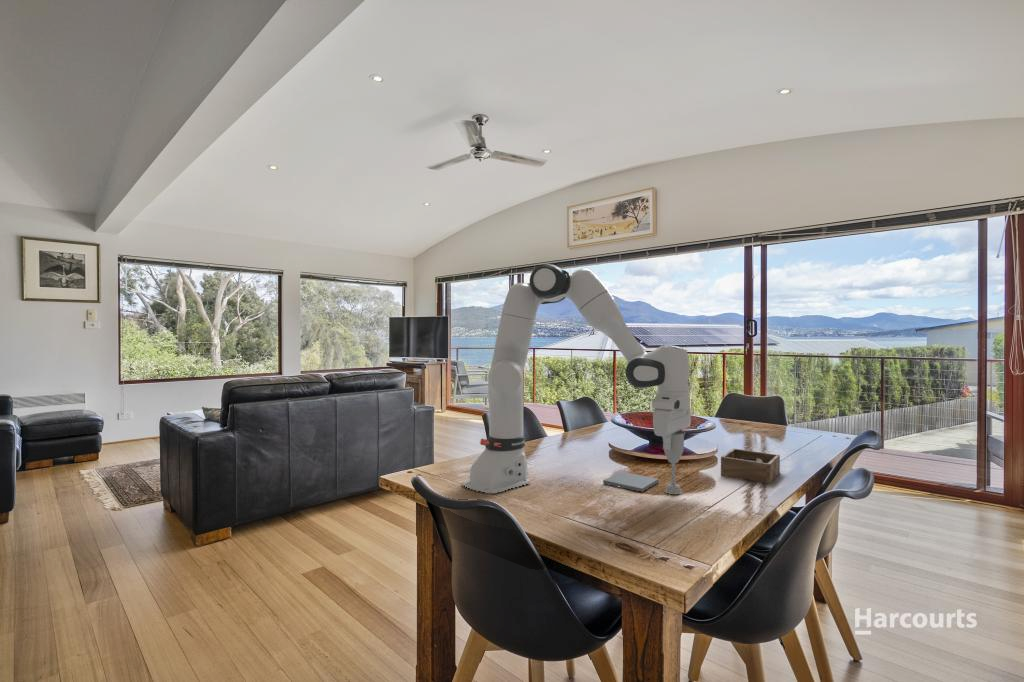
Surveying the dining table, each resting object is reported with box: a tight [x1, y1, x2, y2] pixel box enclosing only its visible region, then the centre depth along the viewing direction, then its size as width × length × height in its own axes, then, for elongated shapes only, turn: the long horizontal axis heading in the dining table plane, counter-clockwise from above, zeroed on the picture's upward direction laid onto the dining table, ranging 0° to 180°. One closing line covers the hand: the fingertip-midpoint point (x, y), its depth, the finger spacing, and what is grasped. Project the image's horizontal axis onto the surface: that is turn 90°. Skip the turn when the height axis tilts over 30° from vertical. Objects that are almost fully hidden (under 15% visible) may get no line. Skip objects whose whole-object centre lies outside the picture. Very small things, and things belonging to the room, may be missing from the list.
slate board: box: [602, 470, 660, 493], centre depth 152 cm, size 12×13×1 cm
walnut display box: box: [720, 448, 781, 484], centre depth 162 cm, size 15×15×6 cm
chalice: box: [662, 430, 686, 495], centre depth 144 cm, size 7×7×18 cm
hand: (673, 446), depth 144 cm, fingers closed on chalice, 6 cm apart
